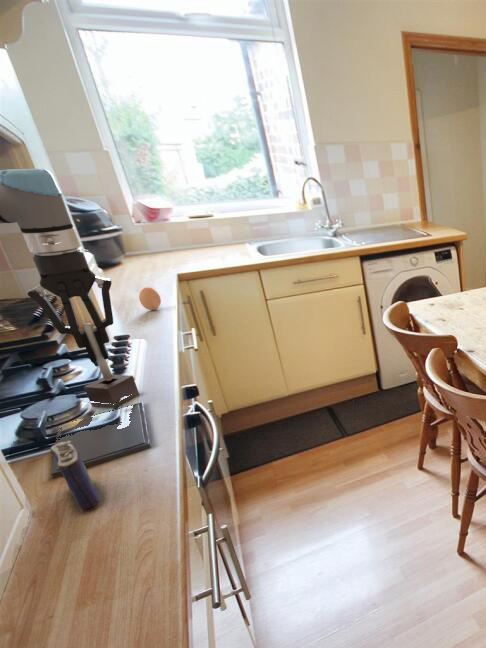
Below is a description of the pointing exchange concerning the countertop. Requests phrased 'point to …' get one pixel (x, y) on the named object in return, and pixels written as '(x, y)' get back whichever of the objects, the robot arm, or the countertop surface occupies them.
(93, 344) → the stylus
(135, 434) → the plate
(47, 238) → the robot arm
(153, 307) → the egg
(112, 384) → the holder
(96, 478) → the countertop surface
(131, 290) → the countertop surface
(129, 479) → the countertop surface
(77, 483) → the flask
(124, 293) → the countertop surface
